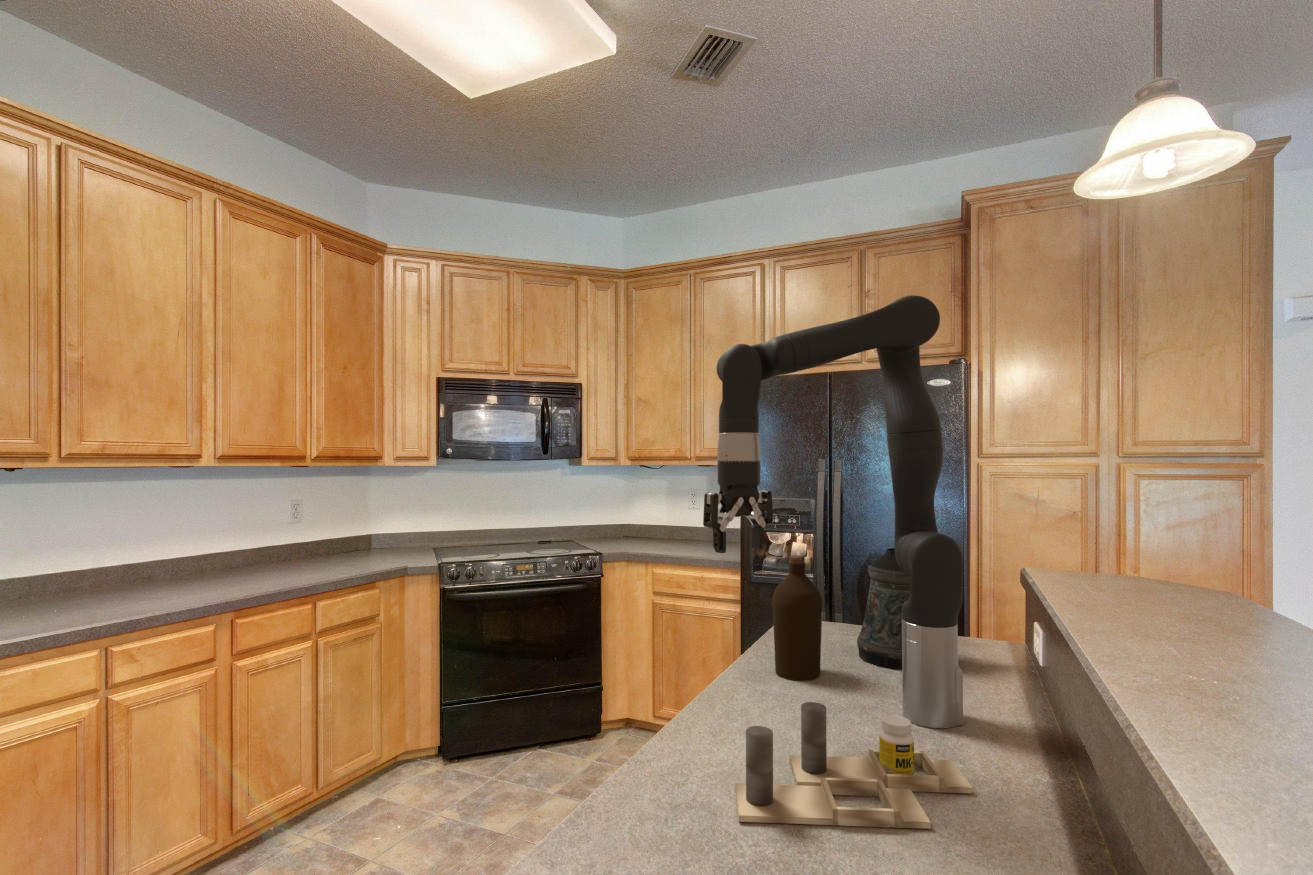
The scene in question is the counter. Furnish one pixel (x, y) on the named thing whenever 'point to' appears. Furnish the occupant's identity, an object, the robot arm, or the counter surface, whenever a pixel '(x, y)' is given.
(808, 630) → the olive oil
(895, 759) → the supplement bottle
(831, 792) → the empty strip
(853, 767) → the wooden rack with post
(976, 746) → the counter surface
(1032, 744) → the counter surface
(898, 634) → the beer stein
